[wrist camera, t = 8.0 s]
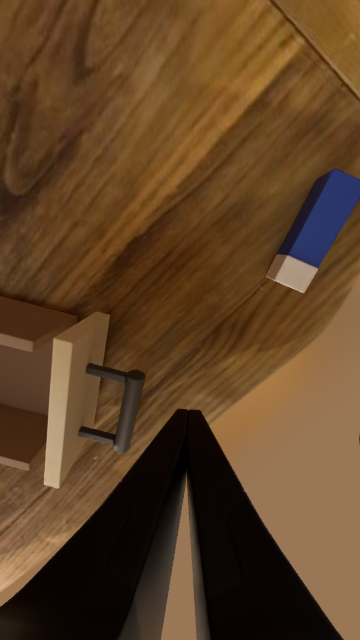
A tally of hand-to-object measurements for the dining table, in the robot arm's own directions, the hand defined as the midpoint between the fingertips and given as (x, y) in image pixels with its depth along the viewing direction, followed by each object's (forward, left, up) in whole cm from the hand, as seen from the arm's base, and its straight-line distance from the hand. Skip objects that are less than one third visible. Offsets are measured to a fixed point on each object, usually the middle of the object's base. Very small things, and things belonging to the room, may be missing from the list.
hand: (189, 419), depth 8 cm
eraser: (-8, -7, -12) cm, 15 cm away
